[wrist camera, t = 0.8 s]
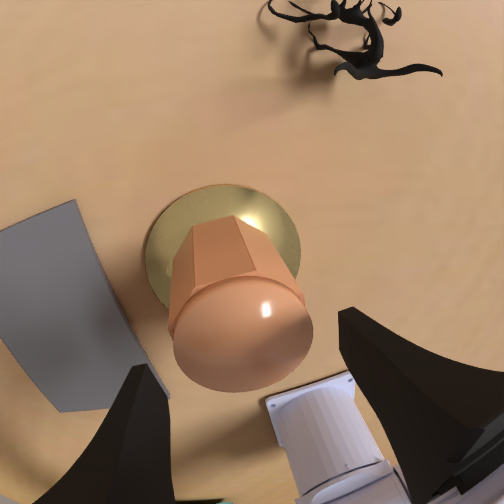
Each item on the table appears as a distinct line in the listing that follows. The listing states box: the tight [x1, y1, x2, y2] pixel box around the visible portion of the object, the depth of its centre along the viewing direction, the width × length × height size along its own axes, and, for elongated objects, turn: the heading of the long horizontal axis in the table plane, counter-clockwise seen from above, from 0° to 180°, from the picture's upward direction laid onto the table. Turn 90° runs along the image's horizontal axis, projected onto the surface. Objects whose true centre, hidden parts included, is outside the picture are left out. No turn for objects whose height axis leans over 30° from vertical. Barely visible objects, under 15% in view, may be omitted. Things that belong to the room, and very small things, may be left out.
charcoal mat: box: [0, 199, 170, 413], centre depth 18 cm, size 16×11×1 cm
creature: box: [268, 0, 443, 80], centre depth 11 cm, size 8×5×8 cm
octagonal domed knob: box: [168, 215, 313, 393], centre depth 15 cm, size 5×5×7 cm
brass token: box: [145, 184, 301, 309], centre depth 18 cm, size 9×9×1 cm
